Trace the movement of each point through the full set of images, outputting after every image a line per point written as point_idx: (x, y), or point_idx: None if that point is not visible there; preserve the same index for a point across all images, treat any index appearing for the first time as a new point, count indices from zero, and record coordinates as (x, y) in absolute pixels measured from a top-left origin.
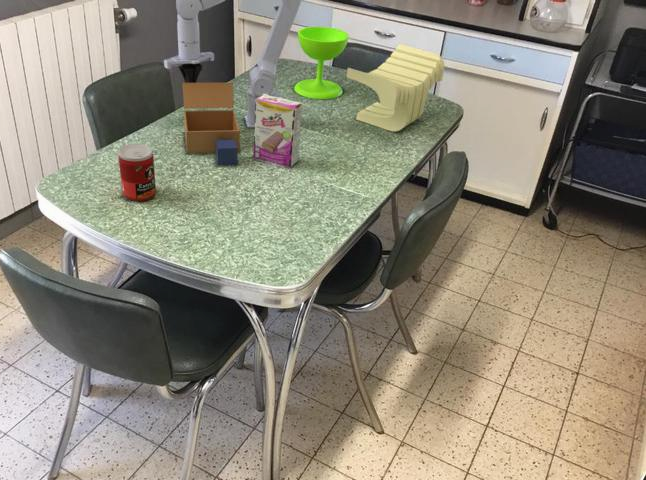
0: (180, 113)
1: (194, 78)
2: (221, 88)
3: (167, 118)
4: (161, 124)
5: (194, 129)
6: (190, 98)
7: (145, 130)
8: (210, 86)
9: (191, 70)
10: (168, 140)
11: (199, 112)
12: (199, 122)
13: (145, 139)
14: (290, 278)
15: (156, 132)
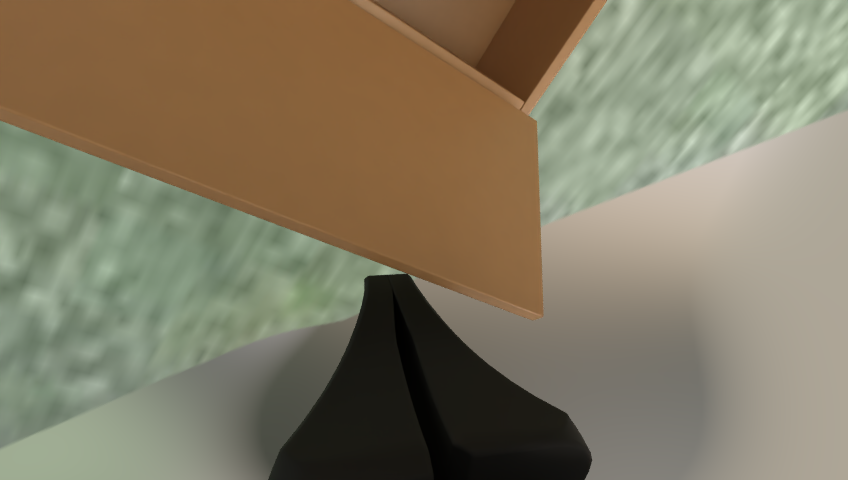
0: (359, 288)
1: (390, 350)
2: (69, 43)
3: None
4: None
5: (435, 41)
6: (489, 154)
7: (602, 200)
8: (246, 149)
9: (496, 430)
10: (611, 32)
11: (426, 38)
12: (413, 27)
13: (675, 112)
14: None
15: (583, 157)
